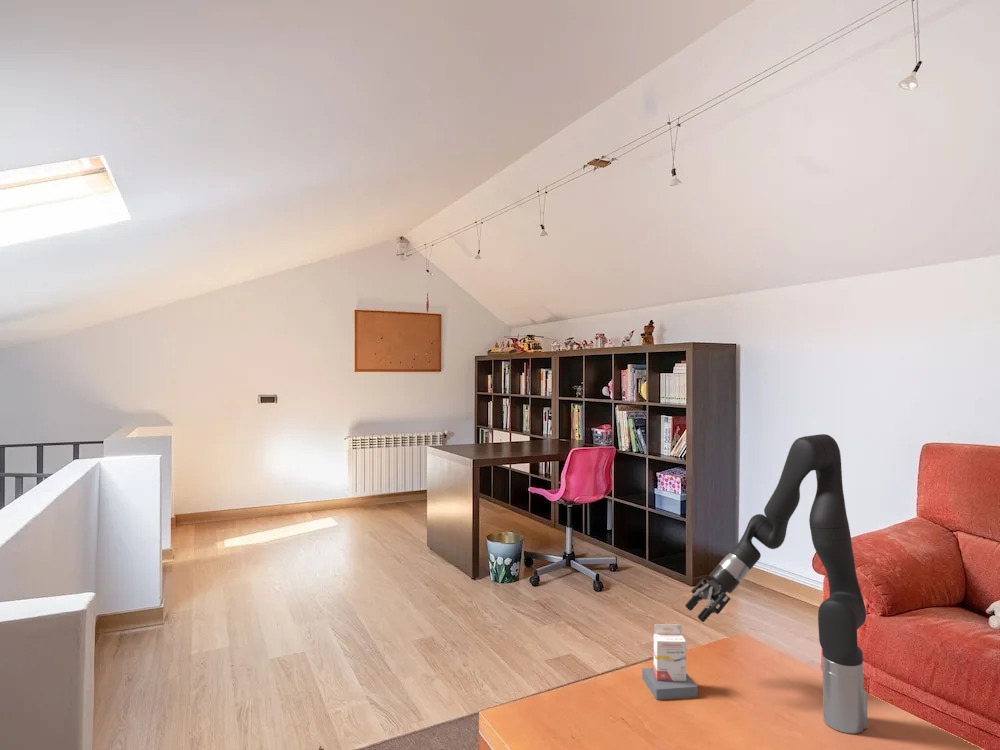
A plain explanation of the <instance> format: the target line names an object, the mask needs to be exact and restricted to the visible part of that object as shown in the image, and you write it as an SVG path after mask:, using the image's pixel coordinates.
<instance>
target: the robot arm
mask: <svg viewBox="0 0 1000 750" xmlns="http://www.w3.org/2000/svg"><path fill="white" fill-rule="evenodd" d="M841 457H842V455H841V450H840V447H839V445H838V442H837V441H836V440H835V438H834V437H832V436H831V435H829V434H824V433H822V434H821V433H820V434H813V435H806V436H802V437H799V438H796V439H795V440H794V441H793V442H792V444H791V446H790V449H789V451H788V453H787V457H786V460H785V463H784V466H783V469H782V471H781V475H780V478H779V480H778V483H777V485H776V488H775V489H774V491H773V493H772V494H771V496H770V498H769V500H768V501H767V503H766V504H765V507H764V509H763V514H761V513H758V514H754V515H753V516H751V518H750V520H749V521H748V523H747V526H746V529H745V531H744V532H743V535H742V536H741V538H740V540H739V542H738V543H736V544H735V546H734V547H733V549H731V551H730V552H729V553H728V554H727V555H726V556H725V557H723V558H722V559H721V561H720V562H719V563H718V564H717V566H716V567H715V568H714V569H713V570H712V571H711V572H710V573H709V577H710V580H708V579H707V578H705V577H703V578H702V579H700V581H699V582H698V583H697V584H696V585H695V586H694V587H693V588H692V589H691V591H690V592H691V593H692V597H690V599H689V600H688V601H687V602H686V604H685V605H684V606H685V608H686V609H687V610H689V611H690V612H691V611H693V610H694V608H695V607H696V606H697V605H698V604H699V602H701V601H702V600H706V601H707V604H706V606H705V607H704V608H703V609H702V610H701V611H700V612H699V613H698V615H697V618H698V620H699V621H700V622H702V623H704V622H705V621H707V620H708V618H709V617H710V616H711V614H716V615H719V614H720V613H721V612H722V611H723V609H724V608H725V607H726V605H727V604H728V603H729V602H730V600H731V597H730V596H729V595H728V594H732V593H733V592H734V590H735V589H736V588H737V587H739V585H740V584H741V583H742V581H743V580H745V578H746V577H747V575H748V573H749V572H750V570H751V569H752V568H753V567H754V566H755V565H756V563H757V562H758V561H759V560H760V558H761V556H762V553H761V552H760V551H759V550H758V548H757V547H756V546H755V545H754V544H753V538H755V539H756V540H757V541H759V542H760V543H761V544H762V545H763V546H764V547H766V548H768V549H771V550H775V549H776V550H777V549H779V548H780V547H781V546H782V545H783V544H784V542H785V538H786V536H787V529H788V525H789V521H790V519H791V517H792V515H793V514H794V513H795V510H797V508H798V506H799V503H800V499H801V489H800V487H801V484H802V482H803V481H804V479H805V478H806V477H807V475H808V474H810V473H811V471H815V476H816V493H815V496H814V500H813V503H812V505H811V508H810V511H809V512H810V513H809V518H808V519H809V529H810V534H811V541H812V544H813V548H814V550H815V552H816V554H817V556H818V558H819V559H820V562H821V563H822V565H823V566H824V569H825V572H826V575H827V580H828V588H829V589H828V592H829V597H828V598H826V599H824V600H823V601H822V602H821V604H820V605H819V607H818V614H817V622H818V624H817V626H818V628H817V629H818V640H819V644H820V645H819V646H820V647H821V655H822V661H821V662H822V718H823V721H824V723H825V724H826V725H827V726H828V727H830V728H831V729H833V730H835V731H838V732H841V733H845V734H859V733H862V732H863V730H867V729H868V692H867V691H866V690H865V689H864V653H863V651H862V649H861V648H860V647H859V646H858V630H859V629H860V628H861V627H862V626H863V625H864V624H865V622H866V619H867V608H866V605H865V601H864V598H863V594H862V591H861V588H860V584H859V580H858V577H857V570H856V562H855V557H854V550H853V543H852V542H853V541H852V536H851V531H850V530H851V529H850V524H849V520H848V515H847V508H846V501H845V495H844V490H843V489H844V488H843V486H844V485H843V474H842V473H843V470H842V458H841ZM727 593H728V594H727Z"/></svg>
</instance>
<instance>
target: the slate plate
mask: <svg viewBox="0 0 1000 750" xmlns="http://www.w3.org/2000/svg"><path fill="white" fill-rule="evenodd" d="M641 672H642V673H641V676H642V680H643V682H644V683H645V685H646V686H647V688H648V689H649V691H650V693H652V695H653V697H654V698H655V699H656V700H657V701H659V700H660V701H662V700H673V699H674V700H675V699H689V698H690V699H691V698H698V694H699V693H698V686H697V684H696V683H695V682H694V681H693V679H692V678H691V677H690V676H689V675H688V673H687V672H686V681H659V680H658V681H657V679H656V676H655V674H654V667H647V668H646V667H645V668H641Z"/></svg>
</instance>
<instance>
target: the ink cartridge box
mask: <svg viewBox="0 0 1000 750" xmlns="http://www.w3.org/2000/svg"><path fill="white" fill-rule="evenodd" d="M667 628H669V629H667ZM653 629H654V631H653V668H654V674H655V676H656V679H657V681H658V680H659V681H686V673H687V641H686V639H685V637H684V635H683V634H682V625H681V624H675V623H674V624H672V623H671V624H669V623H663V624H662V623H660V624H657V623H655V624H654V628H653Z"/></svg>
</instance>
